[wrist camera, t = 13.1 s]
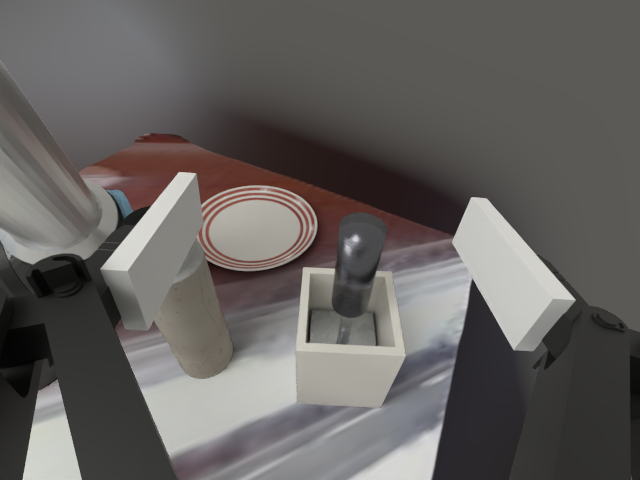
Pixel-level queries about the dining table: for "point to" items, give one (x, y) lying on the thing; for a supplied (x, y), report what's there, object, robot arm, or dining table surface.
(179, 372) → the dining table surface
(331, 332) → the plunger
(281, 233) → the dinner plate
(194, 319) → the thermos bottle
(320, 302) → the white open box
